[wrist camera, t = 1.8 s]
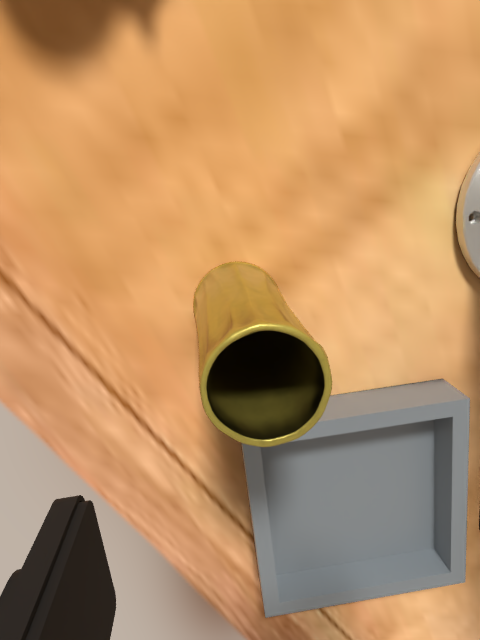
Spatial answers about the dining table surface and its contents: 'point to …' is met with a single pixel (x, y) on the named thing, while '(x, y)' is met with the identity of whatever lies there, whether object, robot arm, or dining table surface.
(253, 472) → the tray
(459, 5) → the dining table surface
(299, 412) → the vase
